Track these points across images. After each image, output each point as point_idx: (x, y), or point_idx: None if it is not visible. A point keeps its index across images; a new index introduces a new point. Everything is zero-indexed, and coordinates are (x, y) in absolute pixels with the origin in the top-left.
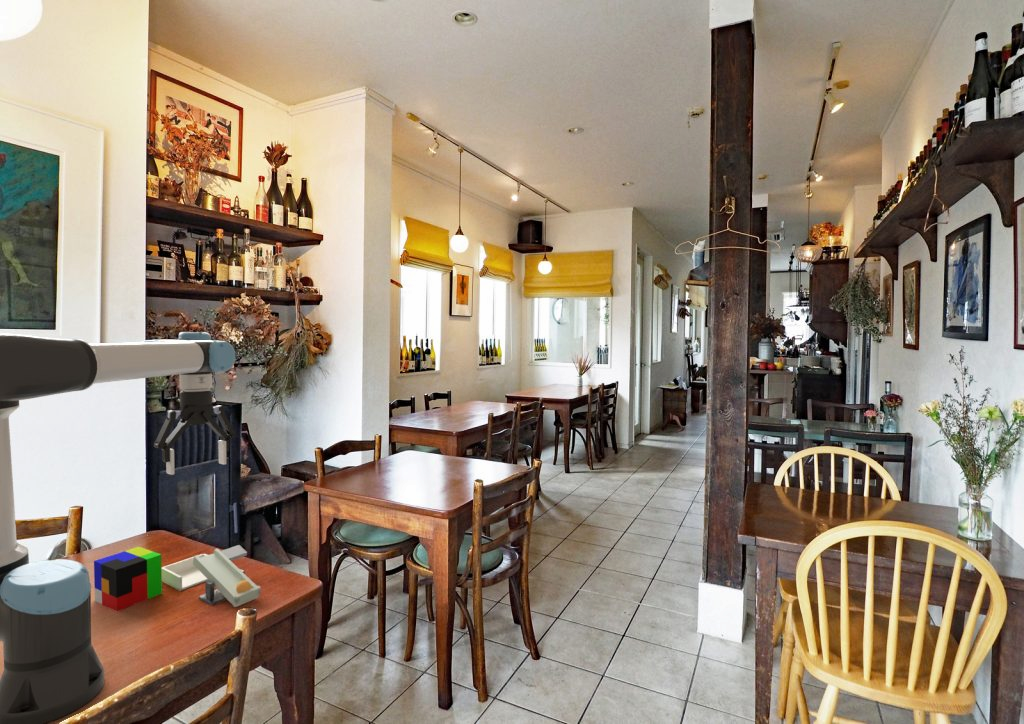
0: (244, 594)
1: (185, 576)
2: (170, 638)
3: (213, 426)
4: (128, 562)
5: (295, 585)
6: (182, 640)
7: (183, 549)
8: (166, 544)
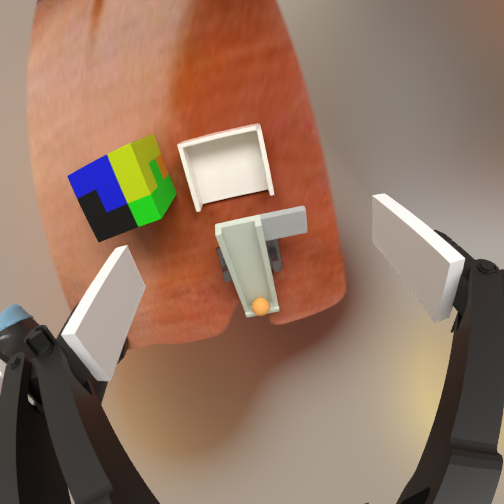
0: (256, 315)
1: (217, 159)
2: (174, 314)
3: (425, 452)
4: (112, 221)
5: (326, 289)
6: (184, 324)
7: (251, 18)
8: None
